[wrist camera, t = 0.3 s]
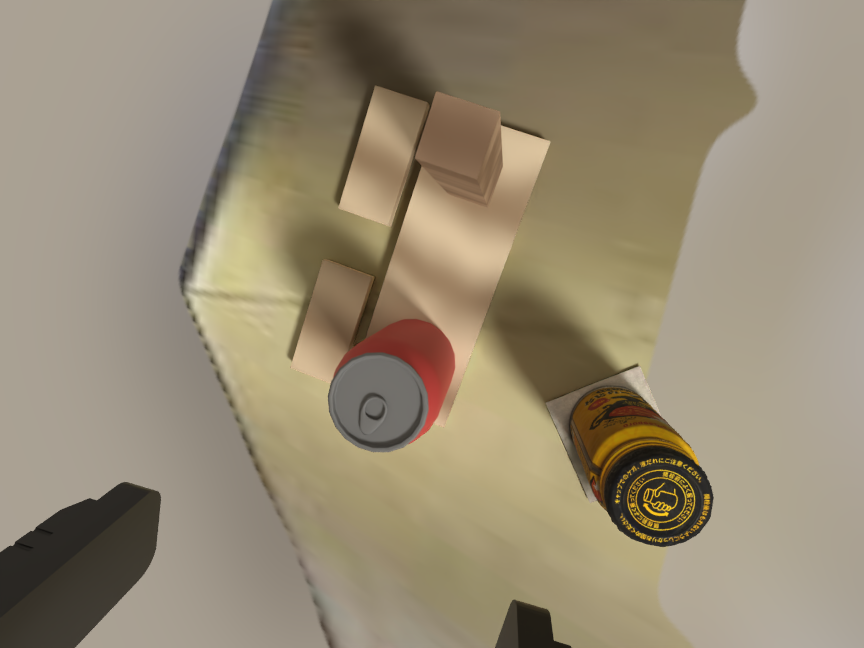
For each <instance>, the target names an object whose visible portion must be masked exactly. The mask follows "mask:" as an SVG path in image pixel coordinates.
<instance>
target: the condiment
mask: <svg viewBox="0 0 864 648" xmlns="http://www.w3.org/2000/svg"><path fill="white" fill-rule="evenodd" d="M546 406H547V408H548V410H549V412H550V414H551V417H552V419H553V421H554V423H555V426H556V428H557V430H558V432H559V434H560V437H561V439H562V441H563V443H564V446H565V448H566V450H567V452H568V455H569V457H570V459H571V461H572V464H573V466H574V468H575V470H576V473H577V475H578V477H579V479H580V481H581V484H582V486H583V488H584V490H585V493H586V495H587V497H588V499H589V502H590V503H592V502H594V501H598V502H599V503H600V505H601V506H602V507H603V508H604V509H605V510H606V511H607V512H608V514H609V516H610V517H611V520H612V522H613V523H614V524H616V525H617V527H618V529H619V531H621V532H623V533H624V534H625V535H627V536H628V537H630V538H631V539H633V540H636V541H639V542H642V543H645V544H648V545H654V546H659V547H666V546H672V545H676V544H679V543H683V542H686V541H687V540H689V539H691V538H692V537H694V536H696V535H697V534H698V533H700V531H701V530H702V528H703V527H704V526H705V525H706V523H707V522H708V521H709V519H710V517H711V510H712V503H713V493H712V489H711V486H710V483H709V481H708V479H707V476H706V474H705V472H704V471H703V470H702V468H701V467H700V466H699V463H698V460H697V458H696V456H695V454H694V451H692V449H691V447H690V445H689V444H688V443H686V442H685V441H684V440H683V438H682V437H681V436H680V435H679V434H678V433H677V432H676V431H675V430H674V429H673V428H672V427H671V426H670V425H669V424H668V423H667V422H666V421H665V420H664V419H663V418H662V416H661V414H660V411H659V409H658V407H657V404H656V402H655V400H654V398H653V395H652V393H651V391H650V389H649V386H648V384H647V381H646V379H645V377H644V375H643V372H642V370H641V367H640V366H638V367H636V368H633V369H630V370H628V371H625V372H622V373H620V374H617V375H614V376H612V377H609V378H607V379H604V380H601V381H599V382H596V383H594V384H591V385H589V386H586V387H584V388H581V389H579V390H576V391H574V392H571V393H569V394H566V395H565V396H562V397H559V398H557V399H554V400H552V401H549V402H546Z"/></svg>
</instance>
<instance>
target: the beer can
mask: <svg viewBox="0 0 864 648" xmlns="http://www.w3.org/2000/svg"><path fill="white" fill-rule="evenodd" d="M454 371H455V353H454V351H453V348H452V346H451V343H450V341H449V340H448V338H447V337H446V336H445V335H444V333H443V332H442V331H441V330H440V329H438V328H437V327H435V326H434V325H432V324H431V323H429V322H426V321H422V320H419V319H403V320H400V321H397V322H395V323H392V324H390V325H388V326H386V327H385V328H383V329H381V330H380V331H378V332H376V333H375V334H373V335H371V336H370V337H368V338H366V339H365V340H363V341H361V342H360V343H358V344H357V345H356V346H354V347H353V348H352V349H351V350H350V351H348V352H347V353H346V354H345V355H344V357H343V358H342V360H341V361H340V363H339V365H338V366H337V368H336V370H335V372H334V376H333V379H332V381H331V385H330V389H329V393H328V404H329V413H330V415H331V417H332V420H333V422H334V425H335V427H336V428H337V429H338V430H339V432H340V433H341V434H342V435H343V437H344V438H345V439H347V440H348V441H349V442H351V443H352V444H354V445H355V446H357V447H358V448H362V449H365V450H368V451H371V452H391V451H394V450H397V449H400V448H403V447H405V446H406V445H407V444H410V443H412V442H414V441H415V440H416V439H418V438H419V437H420V436H422V435H423V434H424V433H426V432H427V431H428V430H429V429H430V427H431V426H432V425H433V423H434V422H435V420H436V419H437V417H438V415H439V412H440V410H441V407H442V405H443V402H444V399H445V397H446V394H447V392H448V389H449V386H450V384H451V381H452V378H453V374H454Z"/></svg>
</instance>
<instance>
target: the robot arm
mask: <svg viewBox="0 0 864 648" xmlns="http://www.w3.org/2000/svg"><path fill="white" fill-rule="evenodd" d="M160 503H161V496H160V493H159V492H158V491H155V490H151V489H148V488H145V487H141V486H138V485H135V484H132V483H128V482H123V483H120V484H119V485H117V486H116V487H114V488H113V489H112V490H110V491H109V492H108V493H106V494H105V495H104V496H102V497H101V498H100V499H98V500H93V499H90V498H89V499H87V500H84V501H82V502H79V503H77V504H74V505H72V506H69V507H67V508H64V509H62V510H60V511H58V512H57V513H55V514H54V515H53V516H51V517H50V518H48V519H47V520H46V521H44V522H43V523H41V524H40V525H38V526H37V527H36V529H35V530H34V531H30V532H29V533H27V534H26V535H24V536H23V537H21V538H20V539H19V540H17V541H16V542H15V544H14V545H13V546H9V547H7V548H6V549H4V550H3V551H2V552H0V648H75V647H76V646H77V645H78V644H79V643H80V642H81V641H82V640H83V639H84V638H85V636H86V635H87V634H88V633H89V632H90V631H91V630H92V629H93V628H94V627H95V626H96V625H97V624H98V623H99V622H100V621H101V620H102V618H103V617H104V616H105V615H106V614H107V613H108V612H109V611H110V610H111V609H112V608H113V607H114V606H115V605H116V604H117V603H118V601H119V600H120V599H121V598H122V597H123V596H124V595H125V594H126V593H127V592H128V591H129V590H130V589H131V588H132V587H133V586H134V585H135V584H136V583H137V581H138V580H139V579H140V578H141V577H142V576H143V574H144V573H145V572H146V570H147V568H148V567H149V565H150V563H151V561H152V559H153V556H154V553H155V550H156V542H157V532H158V523H159V512H160ZM495 648H571V646H569V645H566V644H563V643H559V642H556V641H554V640H553V632H552V624H551V617H550V613H549V611H548V610H547V609H544V608H540V607H537V606H534V605H530V604H527V603H524V602H520V601H517V600H513V601H512V602H511V604H510V607H509V609H508V612H507V615H506V618H505V621H504V624H503V627H502V629H501V632H500V635H499V638H498V641H497V644H496V647H495Z"/></svg>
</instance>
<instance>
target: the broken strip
mask: <svg viewBox="0 0 864 648" xmlns="http://www.w3.org/2000/svg"><path fill="white" fill-rule="evenodd" d="M429 108H430V106H429V104H428V102H425V101H422V100H419V99H416V98H413V97H410V96H406V95H403V94H400V93H397V92H394V91H391V90H388V89H385V88H382V87H379V86H376V85H375V88H374V91H373V95H372V98H371V101H370V105H369V108H368V111H367V115H366V118H365V121H364V125H363V128H362V131H361V135H360V138H359V141H358V145H357V148H356V151H355V155H354V158H353V161H352V164H351V168H350V171H349V174H348V178H347V181H346V184H345V188H344V191H343V194H342V198H341V201H340V204H339V209H342V210H345V211H347V212H350V213H353V214H356V215H359V216H361V217H364V218H367V219H370V220H373V221H376V222H378V223H381V224H384V225H387V226H390V227H391V226H392V223H393V220H394V217H395V213H396V210H397V207H398V204H399V201H400V198H401V195H402V192H403V189H404V186H405V182H406V179H407V176H408V173H409V170H410V167H411V164H412V161H413V158H414V155H415V152H416V148H417V145H418V142H419V139H420V136H421V133H422V130H423V127H424V124H425V121H426V118H427V114H428V111H429ZM374 278H375V277H374V276H371V275H369V274H366V273H363V272H361V271H358V270H355V269H352V268H350V267H347V266H344V265H341V264H339V263H336V262H333V261H331V260H328V259H323V261H322V264H321V267H320V271H319V274H318V277H317V281H316V284H315V287H314V291H313V294H312V297H311V301H310V304H309V307H308V310H307V314H306V317H305V320H304V324H303V327H302V330H301V334H300V337H299V340H298V344H297V347H296V350H295V354H294V357H293V360H292V364H291V367H290V368H292V369H294V370H297V371H300V372H302V373H305V374H307V375H310V376H312V377H315V378H317V379H320V380H322V381H325V382H328V383H330V384H331V381H332V379H333V376H334V372H335V370H336V368H337V366H338V365H339V363H340V361H341V360H342V358H343V357H344V355H345V354H346V353H347V352H348V351H350V350H351V349H352V346H353V343H354V340H355V337H356V334H357V331H358V328H359V325H360V322H361V319H362V315H363V312H364V309H365V306H366V303H367V300H368V297H369V294H370V291H371V288H372V285H373V281H374Z"/></svg>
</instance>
